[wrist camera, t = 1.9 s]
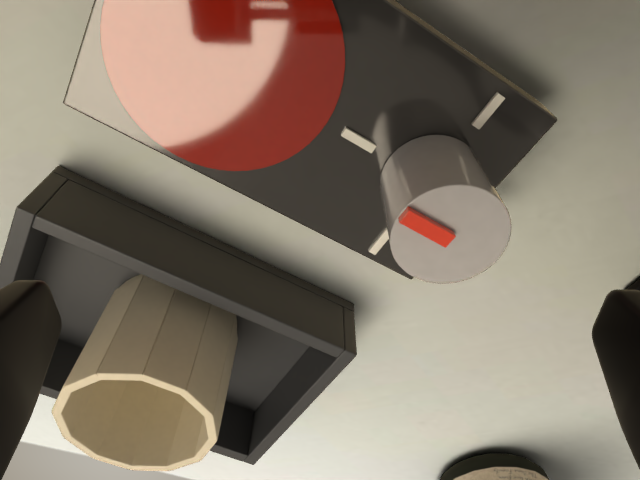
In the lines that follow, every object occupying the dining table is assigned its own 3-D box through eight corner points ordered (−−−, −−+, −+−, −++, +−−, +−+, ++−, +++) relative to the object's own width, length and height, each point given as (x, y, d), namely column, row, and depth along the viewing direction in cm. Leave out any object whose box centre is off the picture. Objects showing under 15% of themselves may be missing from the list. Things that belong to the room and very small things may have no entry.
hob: (568, 121, 20) (591, 142, 19) (431, 268, 25) (439, 296, 23) (164, -161, 15) (143, -168, 14) (83, 86, 20) (59, 105, 18)
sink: (354, 303, 26) (357, 355, 23) (260, 412, 32) (253, 465, 29) (58, 165, 22) (16, 207, 19) (7, 318, 27) (-32, 370, 24)
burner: (393, 17, 16) (394, 18, 16) (274, 204, 21) (274, 205, 20) (151, -149, 14) (150, -149, 14) (72, 101, 18) (70, 102, 18)
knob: (502, 166, 19) (541, 226, 16) (437, 238, 21) (459, 305, 18) (420, 114, 18) (443, 167, 15) (360, 195, 20) (367, 259, 17)
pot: (260, 303, 26) (242, 411, 20) (207, 377, 29) (180, 485, 24) (135, 248, 24) (79, 351, 18) (94, 333, 27) (36, 441, 22)
